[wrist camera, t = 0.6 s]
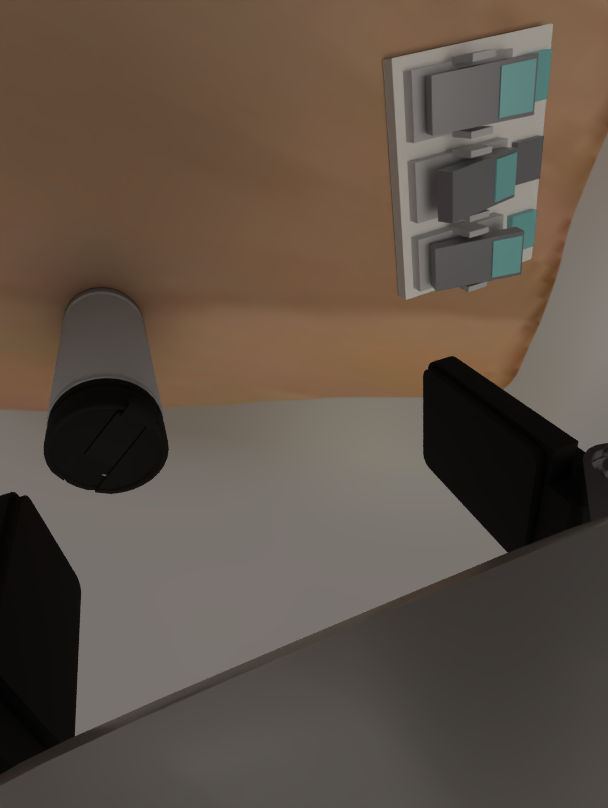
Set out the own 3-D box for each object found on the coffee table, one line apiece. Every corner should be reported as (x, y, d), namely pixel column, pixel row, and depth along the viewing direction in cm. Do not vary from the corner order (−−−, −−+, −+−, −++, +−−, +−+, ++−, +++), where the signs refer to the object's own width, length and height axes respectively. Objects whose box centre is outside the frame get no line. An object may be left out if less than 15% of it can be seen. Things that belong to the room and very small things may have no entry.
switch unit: (382, 59, 39) (418, 53, 35) (539, 25, 42) (591, 16, 37) (398, 295, 50) (427, 312, 46) (521, 255, 53) (559, 268, 49)
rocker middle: (437, 170, 39) (454, 171, 38) (501, 147, 43) (519, 147, 41) (437, 221, 42) (454, 223, 40) (499, 195, 45) (515, 196, 44)
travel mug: (160, 311, 43) (197, 434, 27) (117, 369, 44) (128, 520, 28) (92, 268, 39) (89, 379, 23) (48, 332, 40) (15, 480, 24)
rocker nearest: (425, 75, 38) (432, 75, 36) (528, 53, 37) (539, 52, 36) (426, 133, 40) (433, 135, 38) (524, 113, 40) (534, 115, 38)
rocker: (429, 243, 45) (435, 249, 43) (516, 226, 45) (525, 231, 43) (430, 285, 47) (436, 291, 46) (513, 268, 47) (521, 274, 45)
